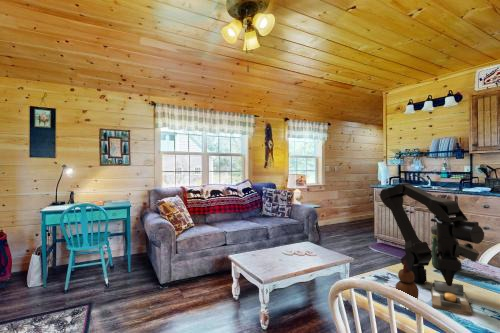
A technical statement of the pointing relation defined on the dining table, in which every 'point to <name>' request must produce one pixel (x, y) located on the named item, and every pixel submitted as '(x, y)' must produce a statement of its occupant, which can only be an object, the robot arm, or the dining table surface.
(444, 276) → the robot arm
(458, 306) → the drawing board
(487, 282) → the dining table surface
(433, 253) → the coffee jar
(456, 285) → the cylinder
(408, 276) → the wooden figurine
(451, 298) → the button
